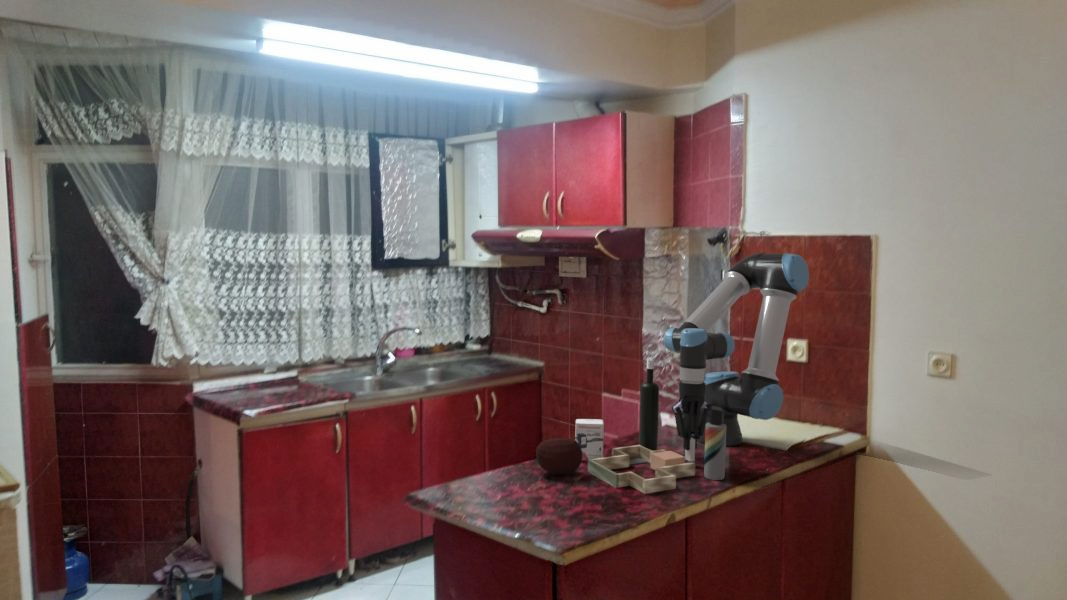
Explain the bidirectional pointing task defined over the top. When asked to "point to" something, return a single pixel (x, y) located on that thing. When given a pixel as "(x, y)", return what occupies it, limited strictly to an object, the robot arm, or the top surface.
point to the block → (666, 459)
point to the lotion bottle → (715, 445)
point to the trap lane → (632, 456)
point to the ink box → (590, 438)
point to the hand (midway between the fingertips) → (689, 460)
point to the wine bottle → (649, 410)
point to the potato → (559, 455)
